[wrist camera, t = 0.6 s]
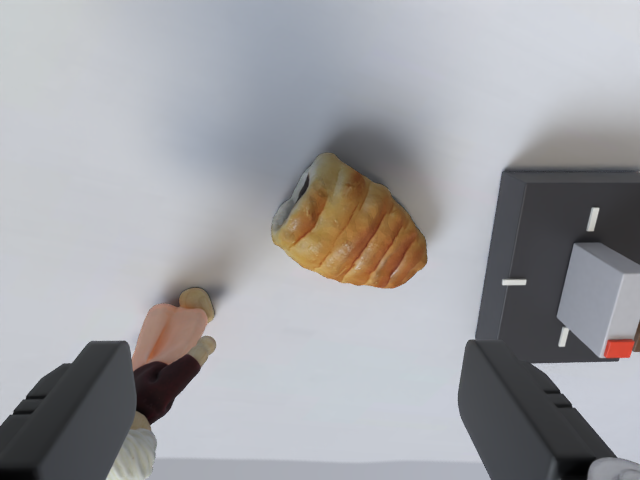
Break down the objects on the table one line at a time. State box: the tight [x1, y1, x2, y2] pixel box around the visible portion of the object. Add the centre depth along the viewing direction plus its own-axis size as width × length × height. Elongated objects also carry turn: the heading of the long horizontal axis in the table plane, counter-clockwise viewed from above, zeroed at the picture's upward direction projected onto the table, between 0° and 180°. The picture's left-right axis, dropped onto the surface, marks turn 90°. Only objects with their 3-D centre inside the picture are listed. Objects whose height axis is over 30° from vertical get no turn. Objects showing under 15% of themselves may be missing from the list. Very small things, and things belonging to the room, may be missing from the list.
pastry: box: [271, 153, 427, 288], centre depth 26 cm, size 9×7×4 cm
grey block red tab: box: [557, 243, 640, 358], centre depth 24 cm, size 5×2×4 cm, turn 179°
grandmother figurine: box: [106, 288, 216, 480], centre depth 23 cm, size 8×4×13 cm, turn 135°
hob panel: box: [475, 171, 640, 363], centre depth 28 cm, size 12×9×3 cm
